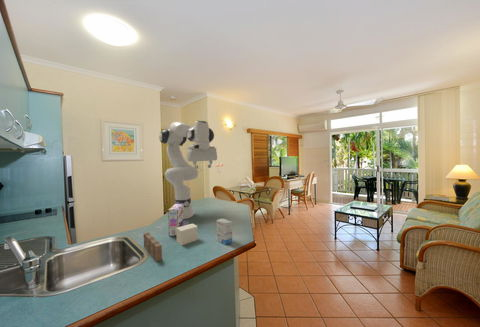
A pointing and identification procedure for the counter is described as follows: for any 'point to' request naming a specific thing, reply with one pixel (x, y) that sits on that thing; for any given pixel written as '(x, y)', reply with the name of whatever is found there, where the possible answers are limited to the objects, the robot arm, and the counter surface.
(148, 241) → the walnut board
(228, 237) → the ink box
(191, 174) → the robot arm
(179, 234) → the cream block
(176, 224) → the candy box
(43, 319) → the counter surface
